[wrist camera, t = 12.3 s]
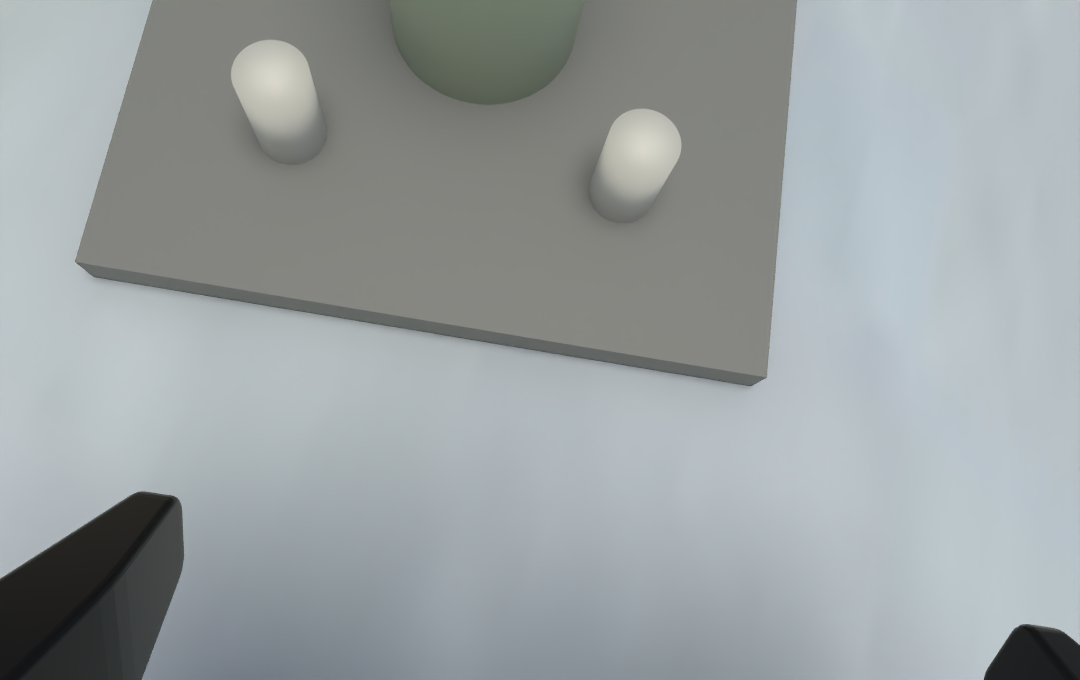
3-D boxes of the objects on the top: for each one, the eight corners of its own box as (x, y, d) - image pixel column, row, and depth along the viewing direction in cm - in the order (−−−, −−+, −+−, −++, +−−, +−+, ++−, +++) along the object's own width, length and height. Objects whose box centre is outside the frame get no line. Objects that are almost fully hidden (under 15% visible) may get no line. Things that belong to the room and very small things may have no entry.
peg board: (751, 385, 24) (812, 352, 20) (93, 276, 23) (17, 217, 19) (796, -143, 29) (853, -258, 25) (248, -257, 28) (214, -396, 23)
